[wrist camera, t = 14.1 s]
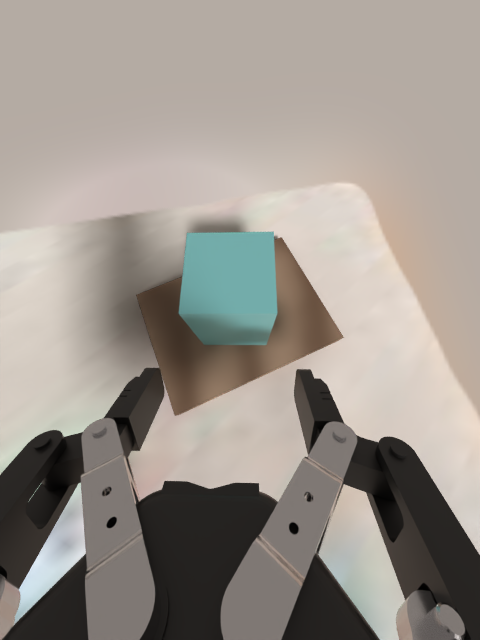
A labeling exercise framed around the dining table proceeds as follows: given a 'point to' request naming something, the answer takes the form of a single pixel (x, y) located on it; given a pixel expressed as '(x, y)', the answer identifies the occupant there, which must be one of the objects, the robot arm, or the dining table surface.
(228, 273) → the teal foam cube
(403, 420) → the dining table surface
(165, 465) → the dining table surface
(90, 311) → the dining table surface
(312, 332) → the board
